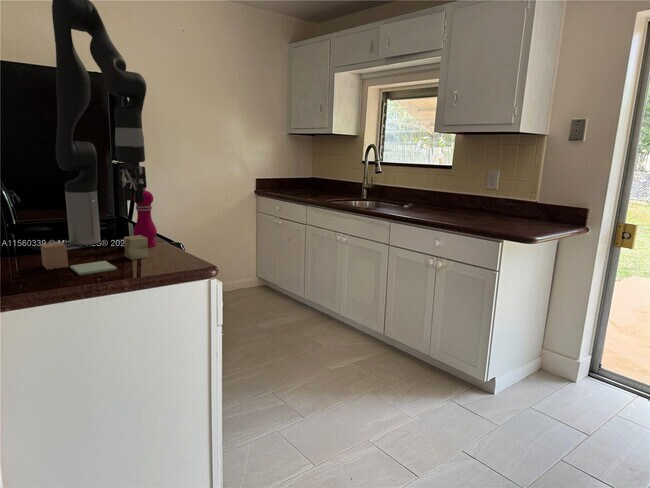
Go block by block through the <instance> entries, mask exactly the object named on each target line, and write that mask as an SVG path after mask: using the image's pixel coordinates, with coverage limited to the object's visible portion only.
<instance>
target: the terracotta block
mask: <svg viewBox="0 0 650 488" xmlns="http://www.w3.org/2000/svg"><path fill="white" fill-rule="evenodd" d="M40 252H41V261H42V267H43V266H44V268H45V269H46V270H47V271H49V270H55V268H56V269H62V268H63V267H64V268H69V260H68V247H67V244H65V243H63V241H62V242H61V241H59V242H52V243H51V242H50V243H42V244H41V243H40ZM64 268H63V269H64ZM48 269H49V270H48Z"/></svg>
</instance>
